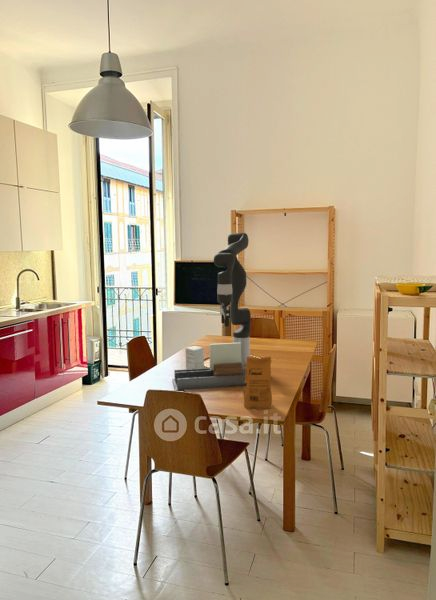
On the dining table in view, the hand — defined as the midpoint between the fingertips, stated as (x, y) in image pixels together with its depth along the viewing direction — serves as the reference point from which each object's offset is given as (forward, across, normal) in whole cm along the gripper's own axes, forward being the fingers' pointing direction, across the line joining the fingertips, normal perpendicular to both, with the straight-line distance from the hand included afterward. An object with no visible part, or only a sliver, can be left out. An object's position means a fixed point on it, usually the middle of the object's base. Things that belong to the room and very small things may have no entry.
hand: (225, 324), depth 242 cm
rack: (+29, +5, -8) cm, 31 cm away
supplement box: (+29, -23, -13) cm, 40 cm away
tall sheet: (+28, 0, 0) cm, 28 cm away
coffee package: (+30, +38, +7) cm, 49 cm away
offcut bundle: (+28, +8, 0) cm, 29 cm away
